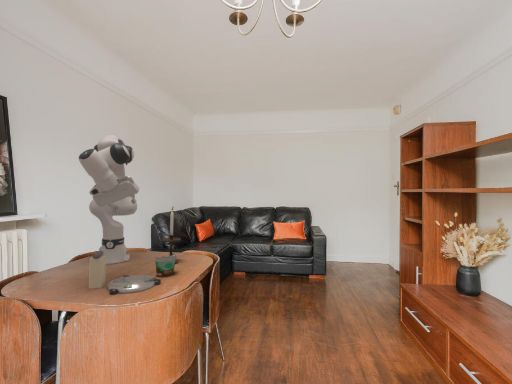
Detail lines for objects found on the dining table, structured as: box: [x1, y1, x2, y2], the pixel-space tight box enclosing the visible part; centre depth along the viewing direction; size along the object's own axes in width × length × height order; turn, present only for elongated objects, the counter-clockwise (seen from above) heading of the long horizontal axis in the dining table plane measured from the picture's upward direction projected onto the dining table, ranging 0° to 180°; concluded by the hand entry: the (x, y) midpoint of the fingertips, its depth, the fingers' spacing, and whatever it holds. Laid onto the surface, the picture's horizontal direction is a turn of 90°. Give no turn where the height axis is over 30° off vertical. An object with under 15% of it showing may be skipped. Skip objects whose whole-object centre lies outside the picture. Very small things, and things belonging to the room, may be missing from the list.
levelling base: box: [107, 274, 162, 296], centre depth 118 cm, size 21×22×2 cm
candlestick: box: [161, 206, 181, 265], centre depth 158 cm, size 11×11×35 cm
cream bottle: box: [88, 250, 107, 290], centre depth 115 cm, size 6×5×15 cm
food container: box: [153, 252, 178, 278], centre depth 133 cm, size 12×6×10 cm, turn 148°
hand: (126, 206), depth 125 cm, fingers open, 8 cm apart
